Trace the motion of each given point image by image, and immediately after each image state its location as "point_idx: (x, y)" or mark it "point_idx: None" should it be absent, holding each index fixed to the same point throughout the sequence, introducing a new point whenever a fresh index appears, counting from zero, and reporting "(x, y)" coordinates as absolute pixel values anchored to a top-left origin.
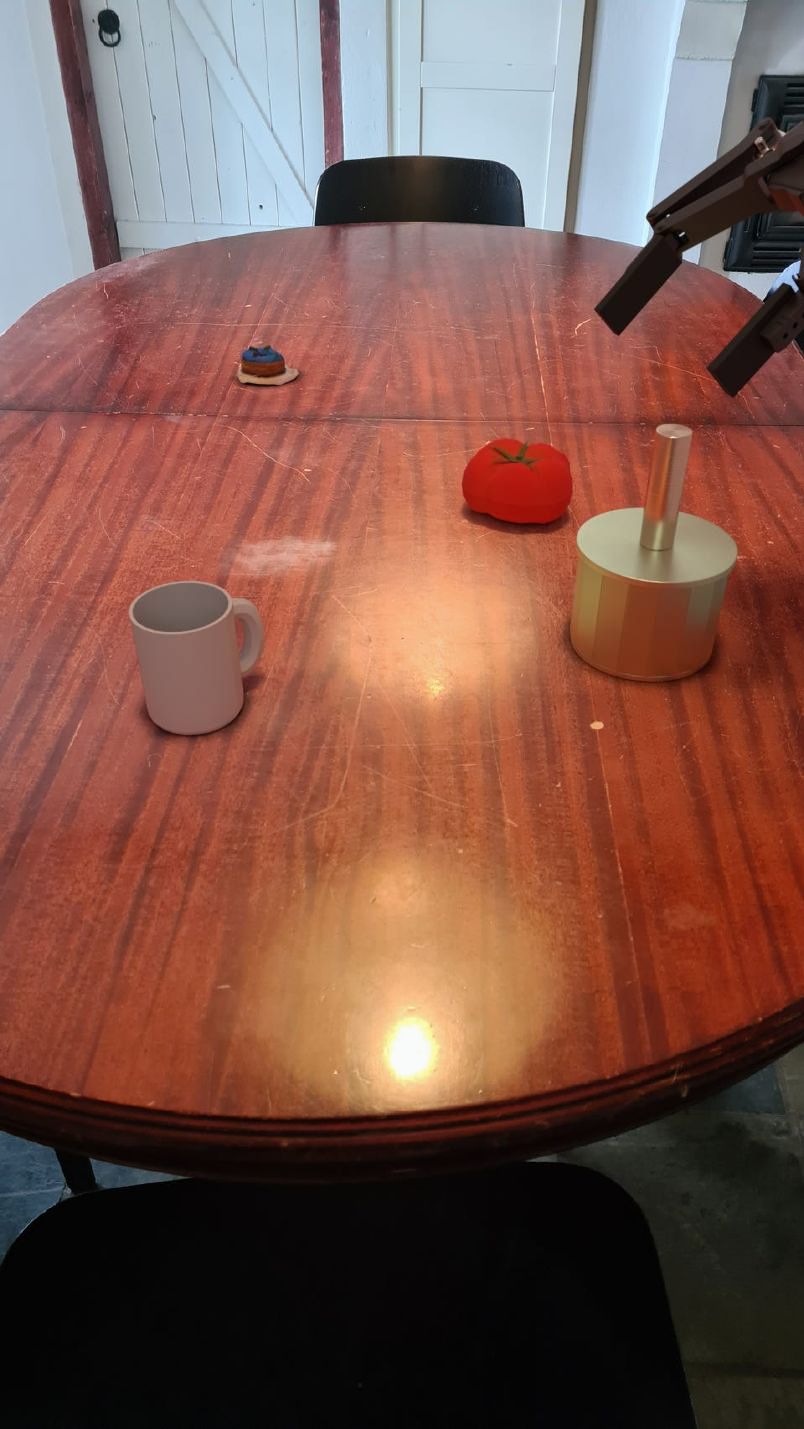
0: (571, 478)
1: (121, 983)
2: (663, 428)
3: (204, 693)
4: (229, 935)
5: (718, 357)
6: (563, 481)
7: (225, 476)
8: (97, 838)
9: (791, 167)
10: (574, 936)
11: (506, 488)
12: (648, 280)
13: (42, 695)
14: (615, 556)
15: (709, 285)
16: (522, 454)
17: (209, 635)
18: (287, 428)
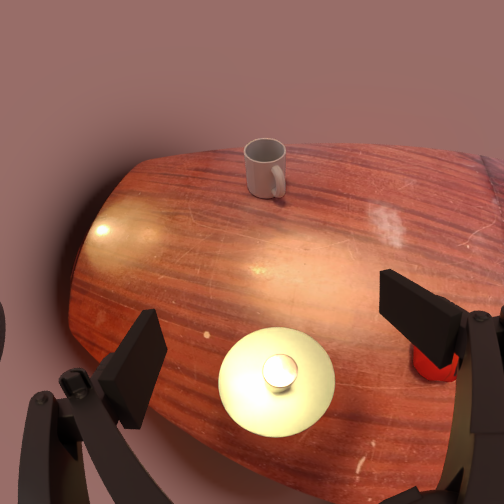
0: (436, 376)
1: (152, 174)
2: (287, 362)
3: (246, 175)
4: (154, 194)
5: (146, 315)
6: (430, 368)
7: (455, 212)
8: (205, 165)
9: None
10: (109, 280)
11: None
12: (415, 322)
13: None
14: (264, 346)
15: None
16: None
17: (246, 159)
18: (501, 243)
